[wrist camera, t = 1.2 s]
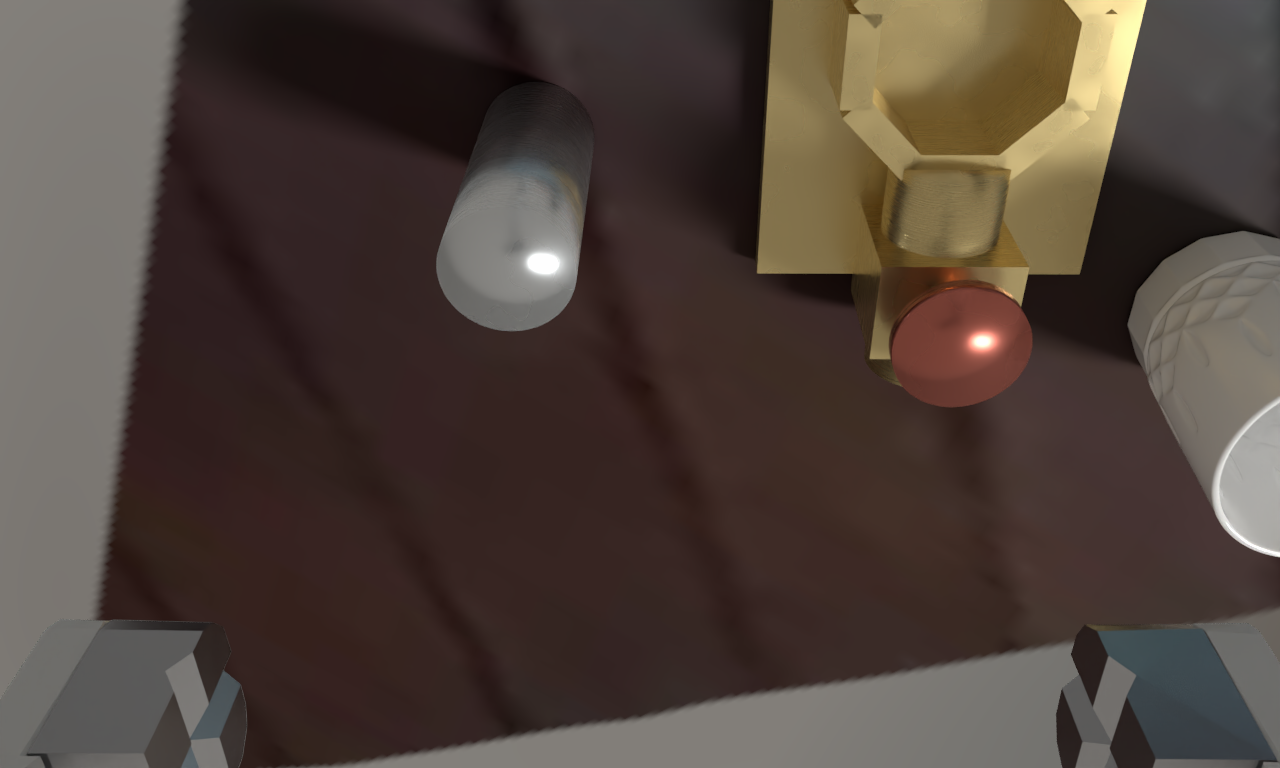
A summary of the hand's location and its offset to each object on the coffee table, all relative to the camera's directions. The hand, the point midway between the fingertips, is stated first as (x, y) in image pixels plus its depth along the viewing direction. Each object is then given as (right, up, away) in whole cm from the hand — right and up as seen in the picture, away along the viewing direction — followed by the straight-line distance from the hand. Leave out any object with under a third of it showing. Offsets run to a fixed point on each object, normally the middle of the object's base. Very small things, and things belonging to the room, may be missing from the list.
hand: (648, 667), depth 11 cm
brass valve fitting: (+10, +13, +29) cm, 33 cm away
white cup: (+22, +6, +33) cm, 41 cm away
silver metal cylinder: (-4, +12, +30) cm, 32 cm away
